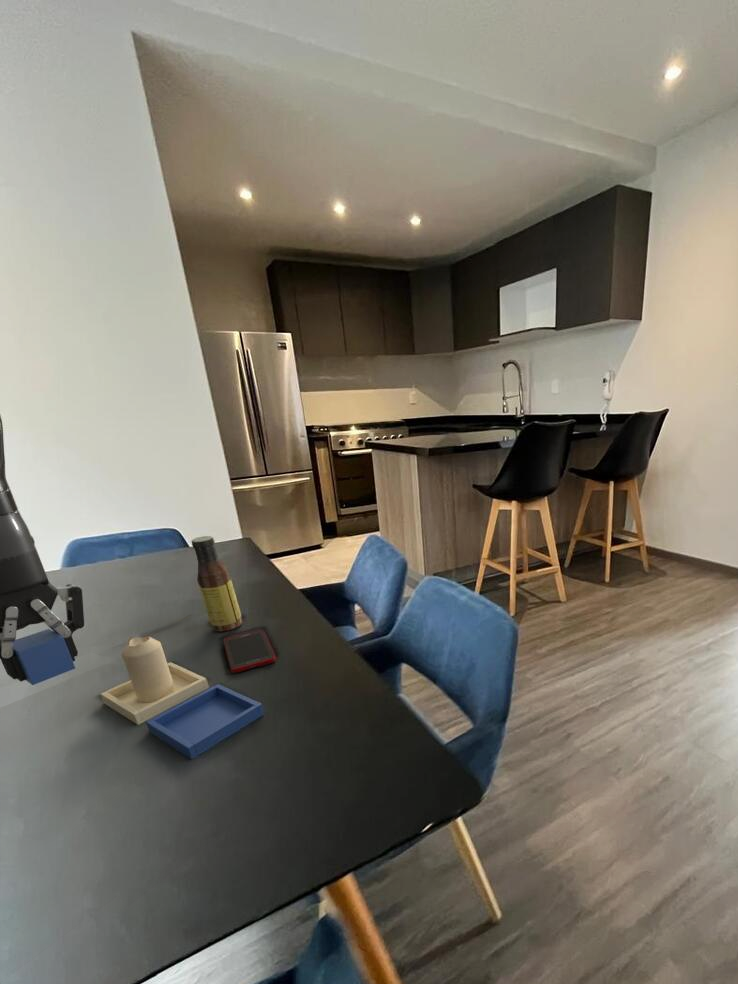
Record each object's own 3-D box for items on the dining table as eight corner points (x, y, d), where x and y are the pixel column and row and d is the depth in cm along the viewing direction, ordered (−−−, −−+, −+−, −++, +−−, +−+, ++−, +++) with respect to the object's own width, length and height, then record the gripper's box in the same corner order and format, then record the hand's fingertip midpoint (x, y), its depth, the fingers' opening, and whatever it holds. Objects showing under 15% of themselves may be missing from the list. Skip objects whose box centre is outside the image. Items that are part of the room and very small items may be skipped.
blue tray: (191, 759, 66) (188, 748, 65) (149, 732, 72) (145, 721, 72) (264, 714, 75) (261, 703, 74) (220, 693, 81) (218, 683, 80)
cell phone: (232, 675, 86) (230, 670, 86) (223, 642, 98) (222, 638, 98) (277, 662, 89) (276, 657, 89) (263, 632, 102) (262, 628, 101)
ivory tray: (138, 725, 74) (134, 714, 74) (104, 703, 81) (100, 693, 80) (209, 688, 83) (206, 678, 82) (173, 671, 89) (170, 661, 88)
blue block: (32, 685, 64) (17, 652, 63) (19, 675, 67) (4, 643, 65) (75, 668, 68) (63, 636, 66) (61, 659, 71) (48, 628, 69)
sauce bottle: (229, 618, 110) (207, 532, 102) (249, 622, 107) (228, 534, 99) (204, 631, 104) (179, 541, 97) (225, 635, 102) (200, 543, 94)
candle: (131, 696, 81) (111, 643, 77) (164, 681, 85) (147, 629, 81) (147, 706, 78) (128, 651, 74) (181, 689, 82) (164, 636, 78)
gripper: (52, 534, 68) (92, 642, 75) (-91, 563, 58) (-30, 687, 64) (74, 540, 64) (115, 654, 71) (-75, 573, 54) (-11, 704, 60)
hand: (46, 669), depth 68 cm, fingers closed on blue block, 5 cm apart
